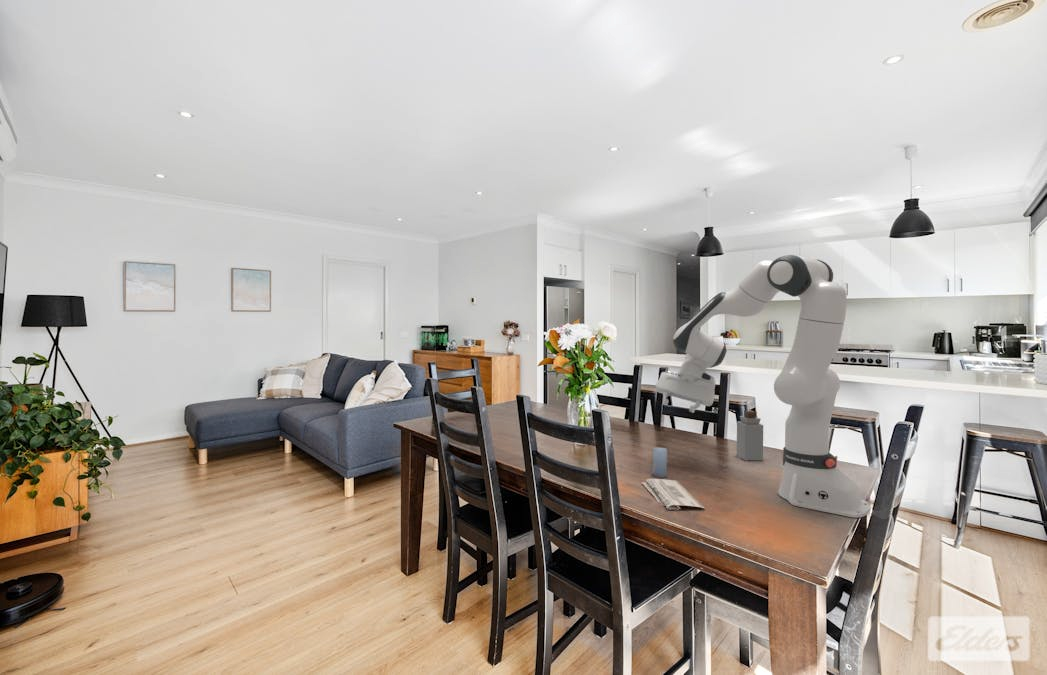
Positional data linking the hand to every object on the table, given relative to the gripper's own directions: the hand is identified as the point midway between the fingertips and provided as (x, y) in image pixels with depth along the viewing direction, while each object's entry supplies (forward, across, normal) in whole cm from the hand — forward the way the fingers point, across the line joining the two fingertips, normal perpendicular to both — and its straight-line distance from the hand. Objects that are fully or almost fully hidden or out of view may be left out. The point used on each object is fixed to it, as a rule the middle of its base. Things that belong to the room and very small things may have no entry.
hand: (677, 407), depth 163 cm
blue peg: (+23, +1, +7) cm, 24 cm away
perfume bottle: (-4, +23, +33) cm, 40 cm away
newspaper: (+34, +10, -6) cm, 36 cm away
